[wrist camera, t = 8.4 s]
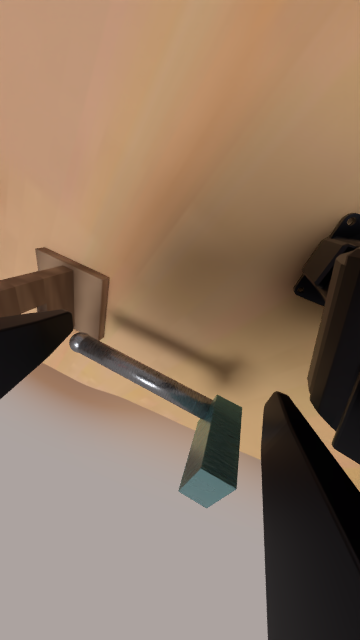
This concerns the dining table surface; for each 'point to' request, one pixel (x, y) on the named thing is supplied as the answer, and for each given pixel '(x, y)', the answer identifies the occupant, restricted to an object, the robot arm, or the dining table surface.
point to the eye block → (59, 292)
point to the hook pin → (215, 415)
